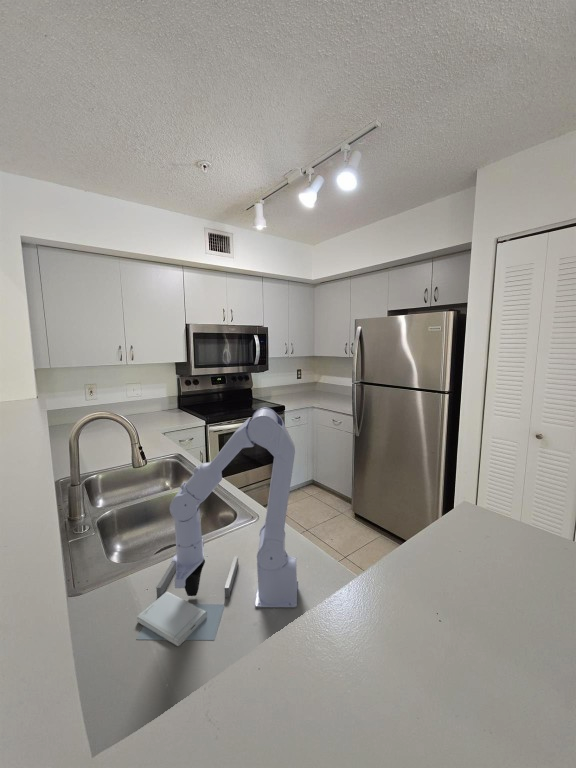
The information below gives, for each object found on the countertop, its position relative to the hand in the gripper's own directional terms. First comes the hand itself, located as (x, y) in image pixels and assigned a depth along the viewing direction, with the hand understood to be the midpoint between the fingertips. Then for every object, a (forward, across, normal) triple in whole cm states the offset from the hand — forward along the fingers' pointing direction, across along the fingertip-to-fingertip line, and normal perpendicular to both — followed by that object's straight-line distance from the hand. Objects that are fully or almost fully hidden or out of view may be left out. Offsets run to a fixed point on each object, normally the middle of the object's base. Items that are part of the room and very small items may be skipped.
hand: (192, 593), depth 76 cm
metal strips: (+1, -6, 0) cm, 6 cm away
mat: (+1, +6, 0) cm, 7 cm away
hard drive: (+1, +6, -2) cm, 7 cm away
